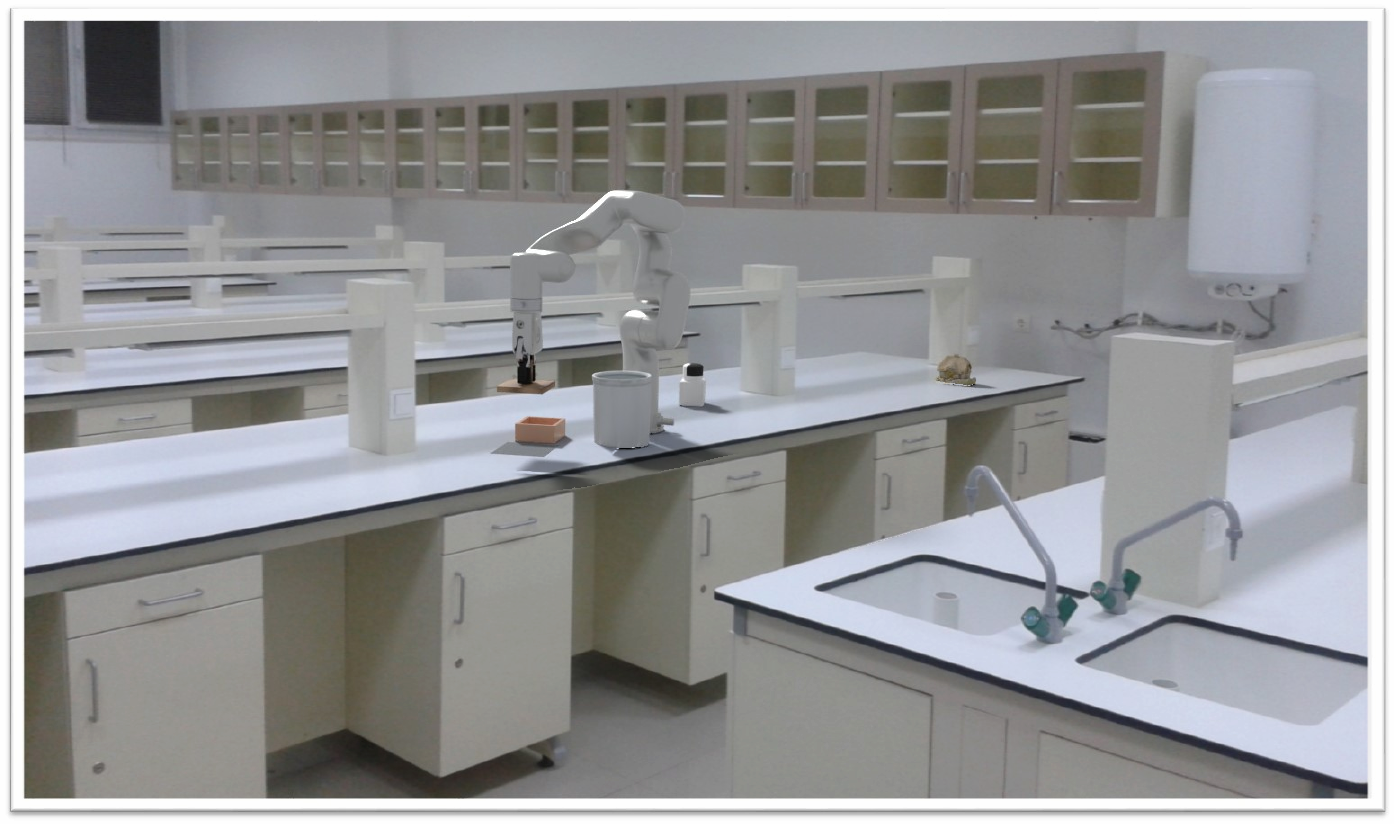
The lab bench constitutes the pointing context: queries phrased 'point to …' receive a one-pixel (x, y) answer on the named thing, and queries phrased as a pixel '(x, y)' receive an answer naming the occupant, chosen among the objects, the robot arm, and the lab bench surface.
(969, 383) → the ceramic model
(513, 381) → the lid
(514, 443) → the mat
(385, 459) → the lab bench surface
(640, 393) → the utensil holder
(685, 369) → the medicine bottle
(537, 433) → the orange open box
